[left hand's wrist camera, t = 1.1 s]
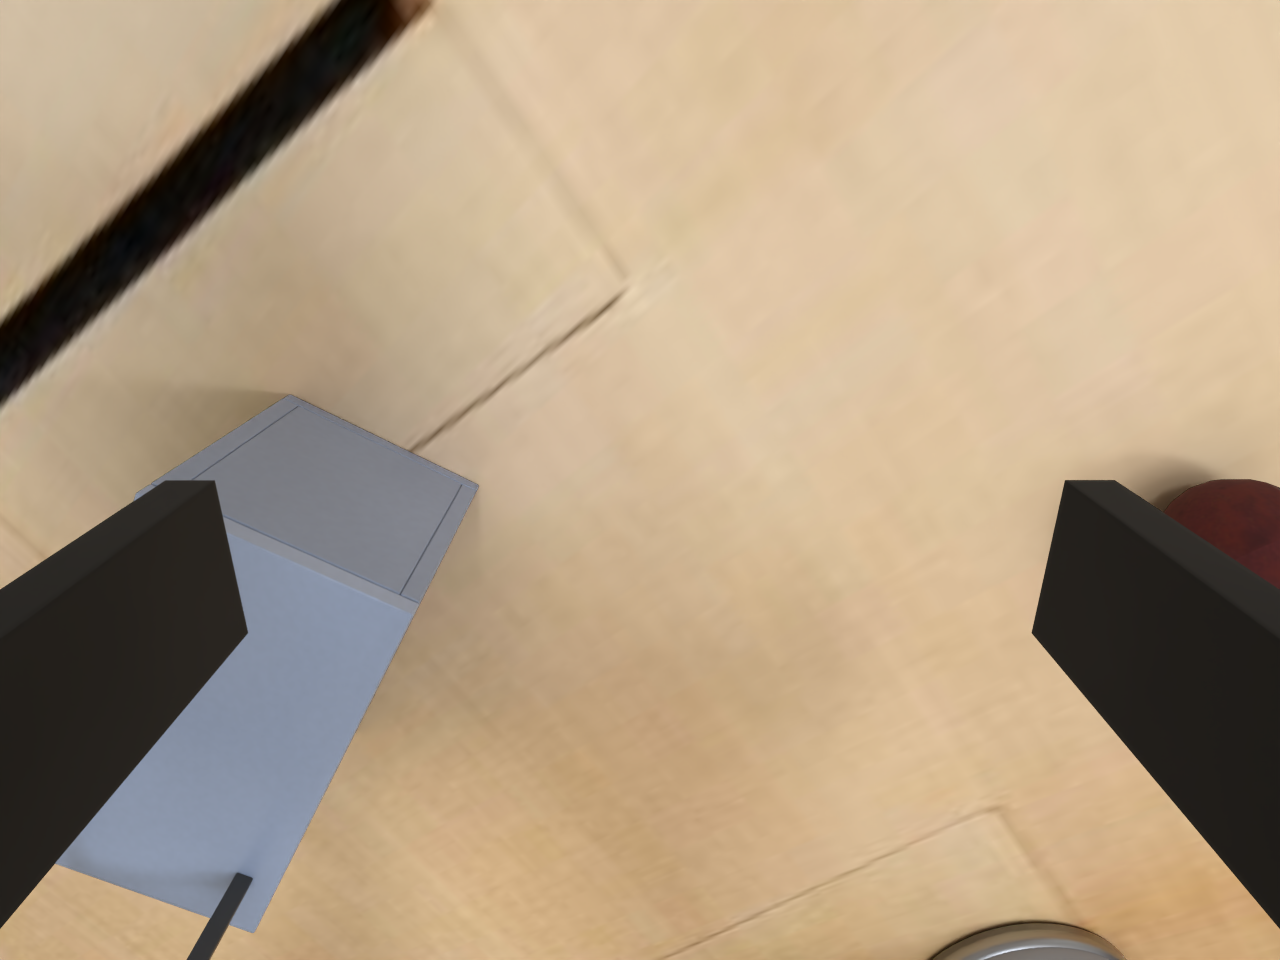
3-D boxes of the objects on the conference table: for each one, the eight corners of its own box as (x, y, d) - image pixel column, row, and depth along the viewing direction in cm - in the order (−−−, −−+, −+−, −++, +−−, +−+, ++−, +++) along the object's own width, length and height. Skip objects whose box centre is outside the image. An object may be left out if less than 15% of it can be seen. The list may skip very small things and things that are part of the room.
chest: (354, 734, 44) (265, 909, 34) (184, 665, 42) (36, 827, 32) (479, 484, 38) (419, 602, 28) (289, 393, 37) (150, 482, 26)
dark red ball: (1147, 619, 41) (1244, 705, 34) (1091, 506, 38) (1184, 575, 32) (1288, 549, 39) (1418, 625, 33) (1239, 427, 37) (1369, 482, 30)
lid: (262, 916, 34) (149, 1141, 26) (33, 835, 32) (-162, 1048, 24) (419, 602, 28) (334, 770, 20) (149, 482, 26) (-57, 615, 18)
